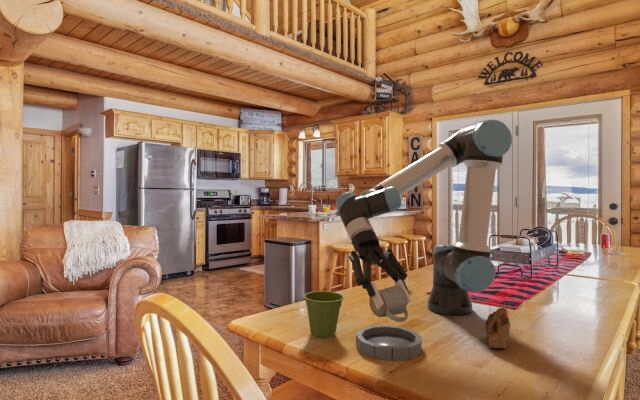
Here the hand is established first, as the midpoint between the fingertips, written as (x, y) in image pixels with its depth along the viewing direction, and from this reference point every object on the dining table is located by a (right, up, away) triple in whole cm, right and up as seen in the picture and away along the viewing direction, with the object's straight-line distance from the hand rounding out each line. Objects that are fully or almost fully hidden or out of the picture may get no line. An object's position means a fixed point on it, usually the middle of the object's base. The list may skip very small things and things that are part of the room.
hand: (394, 304), depth 105 cm
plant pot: (-18, -12, +13) cm, 25 cm away
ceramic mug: (-1, -4, +2) cm, 4 cm away
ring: (+15, -11, +66) cm, 68 cm away
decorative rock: (+29, -13, +5) cm, 32 cm away
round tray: (-1, -12, +3) cm, 13 cm away
